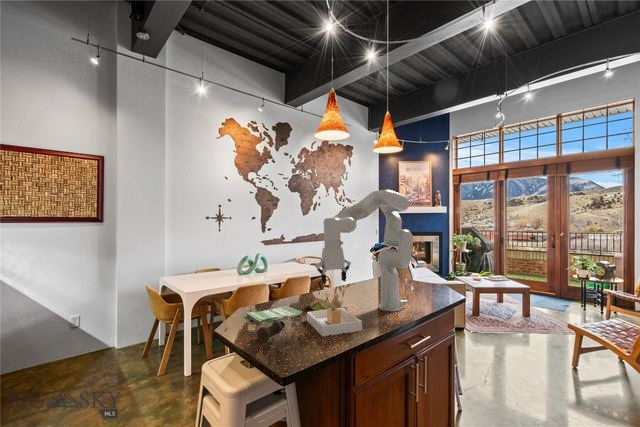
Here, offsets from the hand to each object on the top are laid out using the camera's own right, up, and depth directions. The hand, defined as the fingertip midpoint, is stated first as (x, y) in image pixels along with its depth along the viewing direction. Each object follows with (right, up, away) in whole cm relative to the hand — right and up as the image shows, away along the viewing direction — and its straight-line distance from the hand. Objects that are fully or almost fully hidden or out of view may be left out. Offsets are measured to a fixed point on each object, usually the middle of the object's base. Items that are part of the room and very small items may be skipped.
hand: (334, 281), depth 137 cm
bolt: (-26, -20, -12) cm, 35 cm away
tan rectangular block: (0, -18, -4) cm, 18 cm away
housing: (0, -19, -2) cm, 19 cm away
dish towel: (-30, -21, +14) cm, 39 cm away
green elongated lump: (-6, -21, +20) cm, 29 cm away
